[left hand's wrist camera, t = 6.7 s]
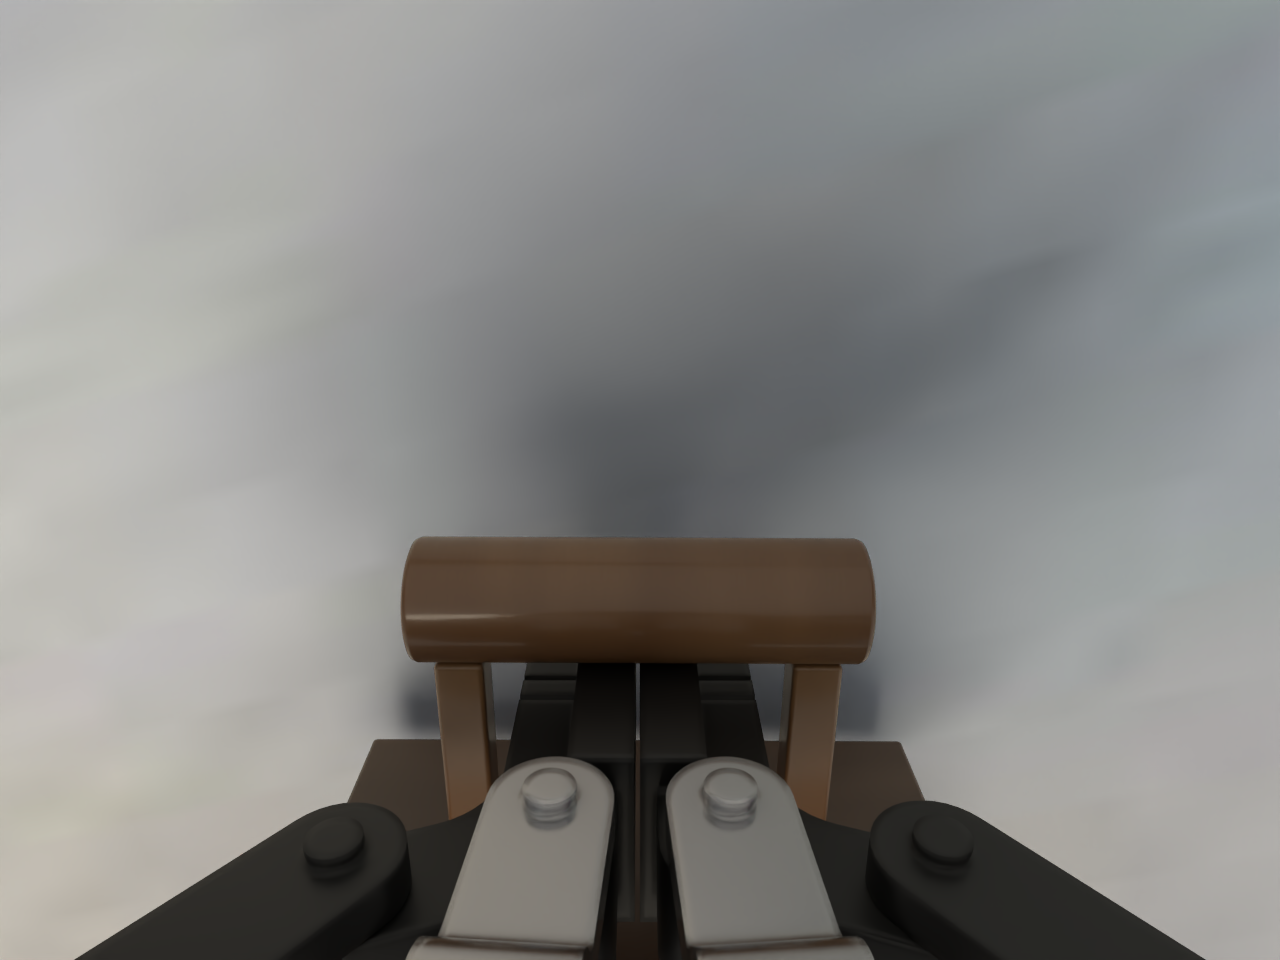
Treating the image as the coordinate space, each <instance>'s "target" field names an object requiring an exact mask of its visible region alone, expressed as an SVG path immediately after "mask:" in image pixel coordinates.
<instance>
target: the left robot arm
mask: <svg viewBox="0 0 1280 960" xmlns="http://www.w3.org/2000/svg"><path fill="white" fill-rule="evenodd" d="M635 798H636V663H527V667H526V671H525V680H524V681H523V685H522V690H521V695H520V700H519V704H518V708H517V713H516V718H515V722H514V727H513V732H512V736H511V741H510V746H509V750H508V755H507V759H506V764H505V769H504V773H503V774H502V775H501V776H500V777H499V778H498V779H497V780H495V782H494V783H493V784H492V786H491V787H490V789H489V791H488V793H487V796H486V798H485V801H484V802H482V803H481V804H480V805H478V806H477V807H475V808H474V809H472V810H471V811H469V812H467V813H465V814H463V815H461V816H459V817H456V818H454V819H451V820H448V821H445V822H441V823H438V824H434V825H430V826H425V827H421V828H417V829H413V830H409V831H406V830H405V827H404V824H403V823H402V821H401V820H400V818H399V817H398V816H396V815H395V814H394V813H393V812H391V811H390V810H388V809H386V808H384V807H381V806H378V805H375V804H369V803H357V802H353V803H342V804H337V805H332V806H328V807H325V808H321V809H318V810H316V811H314V812H311V813H309V814H307V815H305V816H303V817H301V818H300V819H298V820H296V821H294V822H293V823H291V824H290V825H288V826H286V827H285V828H283V829H282V830H280V831H278V832H277V833H275V834H274V835H272V836H271V837H269V838H267V839H266V840H264V841H263V842H261V843H259V844H258V845H256V846H255V847H253V848H251V849H250V850H248V851H247V852H245V853H243V854H242V855H240V856H239V857H237V858H236V859H234V860H232V861H231V862H229V863H228V864H226V865H224V866H223V867H221V868H220V869H218V870H216V871H215V872H213V873H212V874H210V875H208V876H207V877H205V878H204V879H202V880H201V881H199V882H197V883H196V884H194V885H193V886H191V887H189V888H188V889H186V890H185V891H183V892H181V893H180V894H178V895H177V896H175V897H173V898H172V899H170V900H169V901H167V902H165V903H164V904H162V905H161V906H159V907H158V908H156V909H154V910H153V911H151V912H150V913H148V914H146V915H145V916H143V917H142V918H140V919H138V920H137V921H135V922H134V923H132V924H130V925H129V926H127V927H126V928H124V929H123V930H121V931H119V932H118V933H116V934H115V935H113V936H111V937H110V938H108V939H107V940H105V941H103V942H102V943H100V944H99V945H97V946H95V947H94V948H92V949H91V950H89V951H88V952H86V953H84V954H83V955H81V956H80V957H78V958H76V959H75V960H616V943H617V922H635ZM640 922H657V937H658V956H659V960H1205V959H1204V958H1202V957H1200V956H1199V955H1197V954H1196V953H1194V952H1192V951H1191V950H1189V949H1188V948H1186V947H1185V946H1183V945H1181V944H1180V943H1178V942H1177V941H1175V940H1173V939H1172V938H1170V937H1169V936H1167V935H1165V934H1164V933H1162V932H1161V931H1159V930H1157V929H1156V928H1154V927H1153V926H1151V925H1150V924H1148V923H1146V922H1145V921H1143V920H1142V919H1140V918H1138V917H1137V916H1135V915H1134V914H1132V913H1130V912H1129V911H1127V910H1126V909H1124V908H1122V907H1121V906H1119V905H1118V904H1116V903H1114V902H1113V901H1111V900H1110V899H1108V898H1107V897H1105V896H1103V895H1102V894H1100V893H1099V892H1097V891H1095V890H1094V889H1092V888H1091V887H1089V886H1087V885H1086V884H1084V883H1083V882H1081V881H1079V880H1078V879H1076V878H1075V877H1073V876H1072V875H1070V874H1068V873H1067V872H1065V871H1064V870H1062V869H1060V868H1059V867H1057V866H1056V865H1054V864H1052V863H1051V862H1049V861H1048V860H1046V859H1044V858H1043V857H1041V856H1040V855H1038V854H1037V853H1035V852H1033V851H1032V850H1030V849H1029V848H1027V847H1025V846H1024V845H1022V844H1021V843H1019V842H1017V841H1016V840H1014V839H1013V838H1011V837H1009V836H1008V835H1006V834H1005V833H1003V832H1002V831H1000V830H998V829H997V828H995V827H994V826H992V825H990V824H989V823H987V822H986V821H984V820H982V819H981V818H979V817H977V816H975V815H974V814H972V813H970V812H968V811H966V810H963V809H961V808H958V807H955V806H952V805H949V804H945V803H940V802H935V801H924V800H921V801H908V802H902V803H899V804H896V805H893V806H891V807H889V808H887V809H886V810H884V811H883V812H882V813H881V814H879V815H878V816H877V818H876V819H875V821H874V822H873V825H872V827H871V831H870V832H867V831H863V830H859V829H855V828H851V827H847V826H843V825H839V824H835V823H832V822H828V821H825V820H822V819H819V818H817V817H815V816H812V815H810V814H808V813H807V812H805V811H803V810H801V809H800V808H798V807H797V804H796V801H795V798H794V796H793V793H792V791H791V789H790V787H789V786H788V784H787V783H786V782H785V780H783V779H782V778H781V777H780V776H779V775H778V774H777V773H775V772H774V771H773V770H771V769H770V767H769V762H768V757H767V752H766V748H765V743H764V738H763V733H762V728H761V723H760V719H759V714H758V709H757V704H756V700H755V694H754V690H753V685H752V681H751V675H750V670H749V665H748V664H705V663H640Z"/></svg>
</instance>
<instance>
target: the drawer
mask: <svg viewBox="0 0 1280 960" xmlns="http://www.w3.org/2000/svg"><path fill="white" fill-rule="evenodd" d="M875 624H876V591H875V581H874V575H873V569H872V565H871V561H870V558H869V555H868V552H867V549H866V547H865V546H864V544H863V543H862V542H861V541H859V540H857V539H843V538H631V537H420V538H418V539H416V540H415V541H414V542H413V544H412V546H411V548H410V550H409V553H408V556H407V559H406V563H405V567H404V573H403V579H402V588H401V626H402V634H403V640H404V643H405V647H406V651H407V653H408V655H409V657H410V658H411V659H412V660H414V661H416V662H436V664H435V666H434V674H435V684H436V694H437V705H438V715H439V725H440V735H441V739H377V740H375V741H374V742H373V744H372V747H371V749H370V751H369V754H368V756H367V758H366V761H365V763H364V765H363V768H362V770H361V772H360V775H359V777H358V779H357V781H356V784H355V786H354V788H353V791H352V793H351V795H350V798H349V800H348V802H347V803H353V802H357V803H369V804H375V805H378V806H381V807H384V808H386V809H388V810H390V811H391V812H393V813H394V814H395V815H396V816H398V817H399V818H400V820H401V821H402V823H403V824H404V827H405V830H406V831H409V830H413V829H417V828H421V827H425V826H430V825H434V824H438V823H441V822H445V821H448V820H451V819H454V818H456V817H459V816H461V815H463V814H465V813H467V812H469V811H471V810H472V809H474V808H475V807H477V806H478V805H480V804H481V803H482V802H484V801H485V798H486V796H487V793H488V791H489V789H490V787H491V786H492V784H493V783H494V782H495V780H497V779H498V778H499V777H500V776H501V775H502V774H503V773H504V769H505V764H506V759H507V755H508V750H509V746H510V741H511V740H496V729H495V715H494V700H493V686H492V671H491V663H705V664H785V671H784V684H783V696H782V709H781V722H780V734H779V741H764V743H765V748H766V752H767V757H768V762H769V767H770V769H771V770H773V771H774V772H775V773H777V774H778V775H779V776H780V777H781V778H782V779H783V780H785V782H786V783H787V784H788V786H789V787H790V789H791V791H792V793H793V796H794V798H795V801H796V804H797V807H798V808H800V809H801V810H803V811H805V812H807V813H808V814H810V815H812V816H815V817H817V818H819V819H822V820H825V821H828V822H832V823H835V824H839V825H843V826H847V827H851V828H855V829H859V830H863V831H867V832H870V831H871V827H872V825H873V822H874V821H875V819H876V818H877V816H878V815H879V814H881V813H882V812H883V811H884V810H886V809H887V808H889V807H891V806H893V805H896V804H899V803H902V802H908V801H921V800H924V801H925V799H924V797H923V795H922V792H921V790H920V788H919V785H918V783H917V780H916V778H915V776H914V773H913V771H912V769H911V766H910V764H909V762H908V759H907V757H906V754H905V752H904V750H903V747H902V745H901V743H900V742H897V741H835V734H836V725H837V716H838V706H839V697H840V688H841V678H842V667H841V664H860V663H862V662H864V661H865V660H866V659H867V658H868V656H869V653H870V651H871V647H872V643H873V639H874V633H875ZM616 960H659V956H658V937H657V922H640V740H636V798H635V922H617V943H616Z"/></svg>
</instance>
